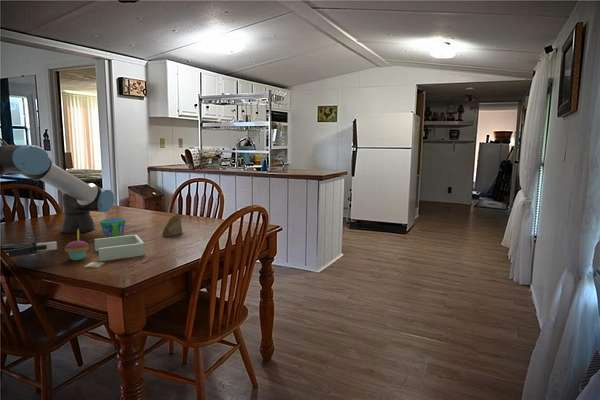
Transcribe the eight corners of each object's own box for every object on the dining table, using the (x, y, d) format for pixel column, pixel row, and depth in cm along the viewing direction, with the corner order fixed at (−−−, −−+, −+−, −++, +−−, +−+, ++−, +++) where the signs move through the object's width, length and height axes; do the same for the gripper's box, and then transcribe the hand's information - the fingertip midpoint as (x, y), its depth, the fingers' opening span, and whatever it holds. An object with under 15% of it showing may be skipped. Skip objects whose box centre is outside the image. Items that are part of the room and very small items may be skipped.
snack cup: (101, 238, 188) (100, 217, 186) (125, 236, 192) (124, 216, 191) (101, 246, 174) (99, 224, 172) (127, 244, 178) (126, 222, 177)
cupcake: (72, 255, 161) (69, 226, 159) (93, 255, 162) (91, 226, 160) (61, 261, 153) (58, 231, 151) (84, 261, 153) (81, 231, 152)
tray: (99, 261, 154) (98, 248, 153) (95, 250, 168) (94, 239, 167) (145, 255, 163) (144, 243, 162) (137, 245, 177) (136, 234, 176)
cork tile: (84, 269, 146) (84, 266, 146) (92, 265, 151) (91, 262, 151) (97, 269, 146) (97, 266, 146) (104, 265, 151) (104, 262, 151)
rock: (161, 233, 189) (182, 229, 192) (158, 217, 193) (179, 214, 196) (163, 242, 198) (184, 238, 202) (161, 227, 202) (181, 223, 205)
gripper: (-18, 259, 146) (57, 250, 158) (-23, 269, 135) (57, 259, 148) (-20, 239, 145) (55, 232, 157) (-26, 248, 134) (56, 239, 146)
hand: (56, 245), depth 152 cm, fingers closed
